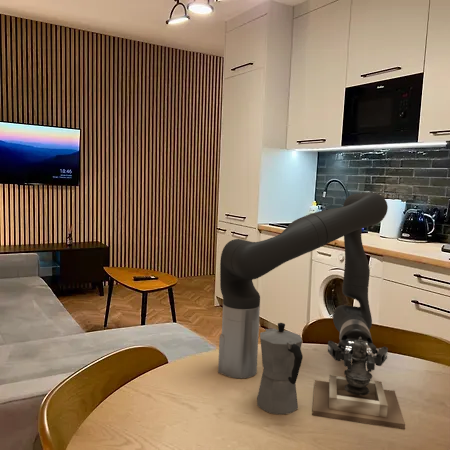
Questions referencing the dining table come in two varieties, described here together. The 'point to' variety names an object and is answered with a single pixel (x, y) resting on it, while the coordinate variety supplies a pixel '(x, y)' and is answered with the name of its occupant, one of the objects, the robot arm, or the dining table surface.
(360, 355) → the salt shaker
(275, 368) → the coffeepot
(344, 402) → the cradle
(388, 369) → the dining table surface
